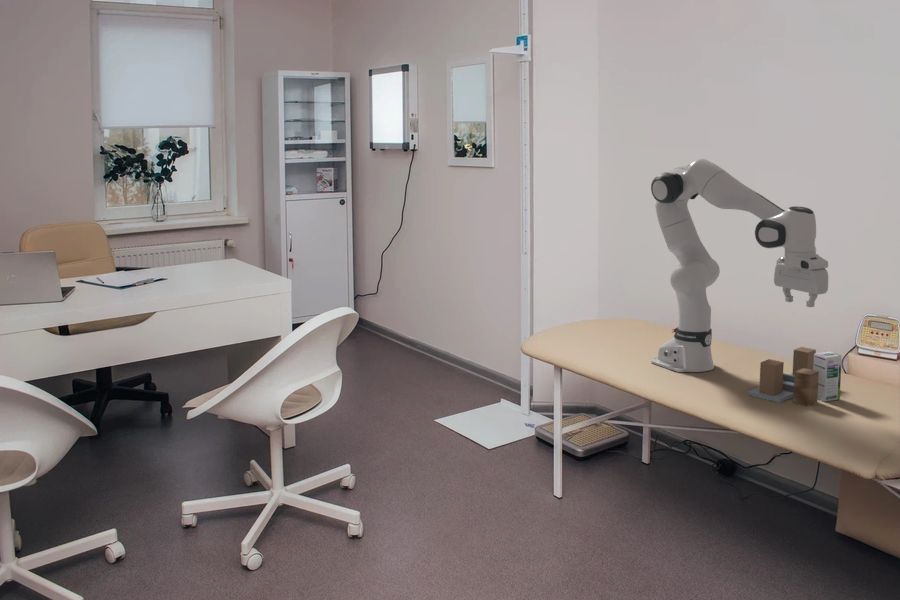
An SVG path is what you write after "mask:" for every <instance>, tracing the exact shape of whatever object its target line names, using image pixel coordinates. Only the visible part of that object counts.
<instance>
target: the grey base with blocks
mask: <svg viewBox="0 0 900 600" xmlns="http://www.w3.org/2000/svg"><path fill="white" fill-rule="evenodd" d="M815 353H817V349H815V348H811V347H810V348H809V347H804V346H800V347H798V348H795V349H793V356H792V358H793V359H792V373H789V374H788V373H784V366H785V365H784V363H785V362H784V361H780V360H776V359H770V358H768V359H766V360H764V361H761V362H760V365H759V366H760V367H759V368H760V369H759V370H760V371H759V386H758V387H755V388H752V389H750V390H749V391H748V392H747V395H748V396H750V395H751V397H754V396H755V397H756V398H758V397H760V398H759V399H762V398H764V399H763V400H766V399H768V401H770V400H772V401H771V402H774V401H776V402H775V403H778V402H780V403H779V404H781V403H784V402H785V401H788V400H789V399H792V398H794V381H795V371H797V370H800V369H802V368H805V369H810V370H814V354H815ZM787 399H788V400H787Z"/></svg>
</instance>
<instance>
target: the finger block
mask: <svg viewBox="0 0 900 600" xmlns="http://www.w3.org/2000/svg"><path fill="white" fill-rule="evenodd" d="M818 377H819V371H815V370H810V369H805V368H802V369H800V370H797V371H795V381H794V397H793V403H794V402H796V403H795V404H799V403H800V405H803V404H804V405H803V406H807V405H810V406H812V405H814V404H816V403H818V399H817V395H818ZM815 402H816V403H815ZM813 403H814V404H813ZM811 404H812V405H811Z"/></svg>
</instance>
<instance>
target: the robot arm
mask: <svg viewBox="0 0 900 600" xmlns="http://www.w3.org/2000/svg"><path fill="white" fill-rule="evenodd" d="M650 191H651V195H652V196H653V198H654V199H655V201H656V202H655V213H656V216H657V222H658V224H659V226H660V229H661V230H660V231H661V232H662V235H663V238H664V241H665V243H666V247H667V248H668V251H669V252H671V254H673V255H674V256H675V258H676V259H677V261H678V262H679V265H678V266H676V268H675V269H674V270H673V271H672V273H671V274H670V277H669V278H670V280H669V281H670V285H671V288H672V289H673V290H674V291H675V296H676V301H677V306H678V325H677V327H676V328H673V329H672V330H671V331H672V332H671V333H672V334H674V335H673V337H671V338H670V339H669V340H667V341H666V342H664V343H663V344H661V345H660V347H659V348H658V352H657V356H655V357H653V358H651V361H650V362H651V364H654V365H656V366H659V367H662V368H664V369H669V370H670V371H674V372H677V373H687V372H689V373H703V372H708V371H709V372H710V371H712V370H713V369H715V364H714V361H713V354H712V337H713V333H712V328H711V325H712V321H711V320H712V317H711V316H712V308H711V305H710V304H709V301H708V297H707V288H708V287H710V286H712V285H713V284H714V283H715V282H716V281H717V279H718V278H719V277H720V273H721V272H720V266H719V263H718V262H717V261H716V260H715V259H713V258H712V256H711V255H710V254H709V252H708V250H707V249H706V247H705V246H704V244H703V243H702V241H701V239H700V236H699V234H698V231H697V229H696V226H695V223H694V221H693V218H692V216H691V214H690V211H689V208H688V203H689V200H695V199H696V198H697V197H698V196H700V197H701V198H702V199H704V200H705V201H707V202H708V203H709V204H710V205H712V206H714V207H716V208H718V209H722V210H723V209H724V210H738V211H743V212H748V213H750V214H753V215H754V216H755V217H757V218H759V219H760V221H759V222H758V223H757V224H756V226H755V230H754V237H755V239H756V242H757V244H759V246H760V247H762V248H765V249H777V248H782V247H783V248H784V249H783V250H784V257H783V256H781V257H779V258H778V259H777V260H776V265H775V267H774V275H773V282H774V283H773V284H774V285H775V286H776V287H780V288H782V292H783V295H784V297H785V298H784V299H785V302H787V303H793V302H794V296H793V295H792V293H791V292H792V291H791V290H793V291H794V290H795V291H799V292H804V293H807V294H808V297H809V298H808V300H806V307H807V308H814V307H815V304H816V303H815V302H816V300H817V298H818V295H824V294H825V295H826V294H827V292H828V290H829V273H828V270H827V268H829V261H828V260H826V259H825V258H823V257H822V256H820V255H819V254H817V248H816V239H817V222H816V221H817V220H816V215H815V213H814V211H813V210H812V209H811V208H809V207H804V206H796V205H795V206H790V207H787V208H786V209H783V208H781V207H780V206H778V205H776V204H775V203H774V202H772V201H771V200H769V199H768V198H766V197H765V196H763V195H762V194H760V193H758V192H756V191H755V190H753V189H752V188H750V187H749V186H747V185H745V183H742V182H741V181H740V180H738V179H737V178H735V177H734V176H732V174H730V173H729V172H727V171H726V170H724V169H723V168H722V167H721V166H719V165H717V164H715V163H714V162H711V161H710V160H708V159H704V158H699V159H695V160H694V161H693V162H691V163H690V164H688V165H684V166H679V167H676V168H675V167H674V168H673V169H671V170H668V171H665V172H662V173H660V174H657V176H655V177H654V178H653V179H652V181H651V183H650Z"/></svg>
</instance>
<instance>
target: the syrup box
mask: <svg viewBox="0 0 900 600" xmlns="http://www.w3.org/2000/svg"><path fill="white" fill-rule="evenodd" d="M842 358H843V356H842V355H841V354H840V353H836V352H833V351H826V352H818V353H817V352H816V353H815V354H814V370H815V371H819V377H818V395H817V400H819V399H820V400H819V401H821V400H822V402H824V403H826V402H831V401H838V400H840V399H841V380H842V379H841V378H842V376H841V375H842Z"/></svg>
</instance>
